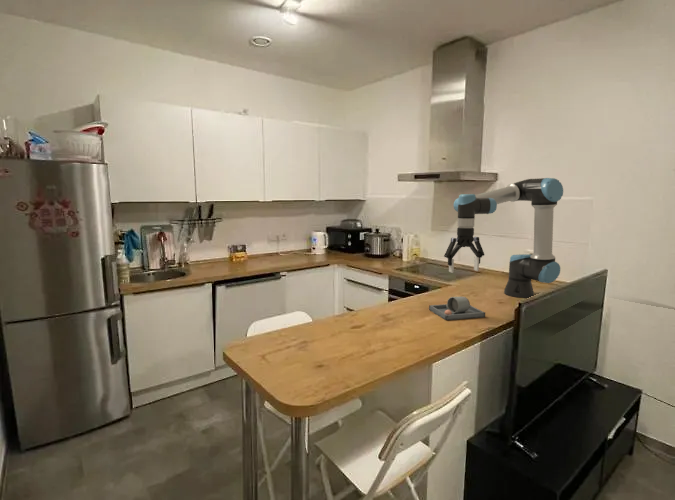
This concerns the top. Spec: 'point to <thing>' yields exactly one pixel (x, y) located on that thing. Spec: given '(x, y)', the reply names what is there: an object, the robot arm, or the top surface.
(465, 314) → the tray
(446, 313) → the ball
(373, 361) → the top surface
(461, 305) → the ceramic mug
